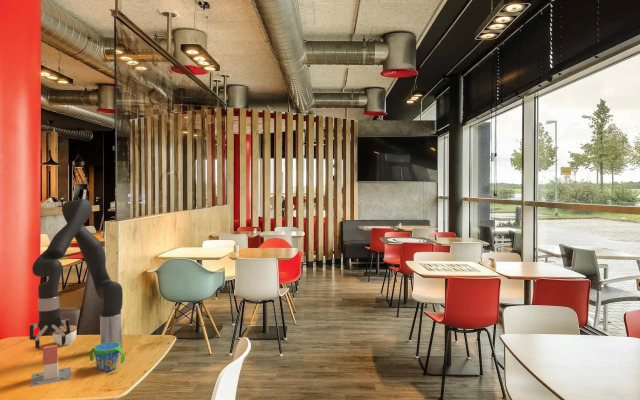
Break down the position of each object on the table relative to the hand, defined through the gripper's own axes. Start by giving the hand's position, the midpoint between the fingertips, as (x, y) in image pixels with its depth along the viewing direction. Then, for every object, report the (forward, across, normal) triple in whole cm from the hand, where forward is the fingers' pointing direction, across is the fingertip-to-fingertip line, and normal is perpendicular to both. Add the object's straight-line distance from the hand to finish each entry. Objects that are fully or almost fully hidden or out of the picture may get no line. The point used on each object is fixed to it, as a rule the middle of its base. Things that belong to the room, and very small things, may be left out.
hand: (50, 346), depth 184 cm
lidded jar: (+14, -4, -45) cm, 47 cm away
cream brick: (+12, 0, 0) cm, 12 cm away
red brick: (+6, 0, 0) cm, 6 cm away
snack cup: (+14, -21, +1) cm, 25 cm away
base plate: (+13, 0, 0) cm, 13 cm away
